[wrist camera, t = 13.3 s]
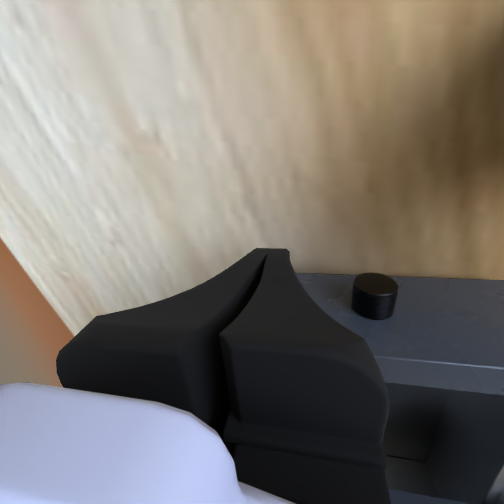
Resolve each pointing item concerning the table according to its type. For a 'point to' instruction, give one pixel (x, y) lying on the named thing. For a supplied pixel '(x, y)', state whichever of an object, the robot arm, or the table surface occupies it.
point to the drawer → (431, 375)
